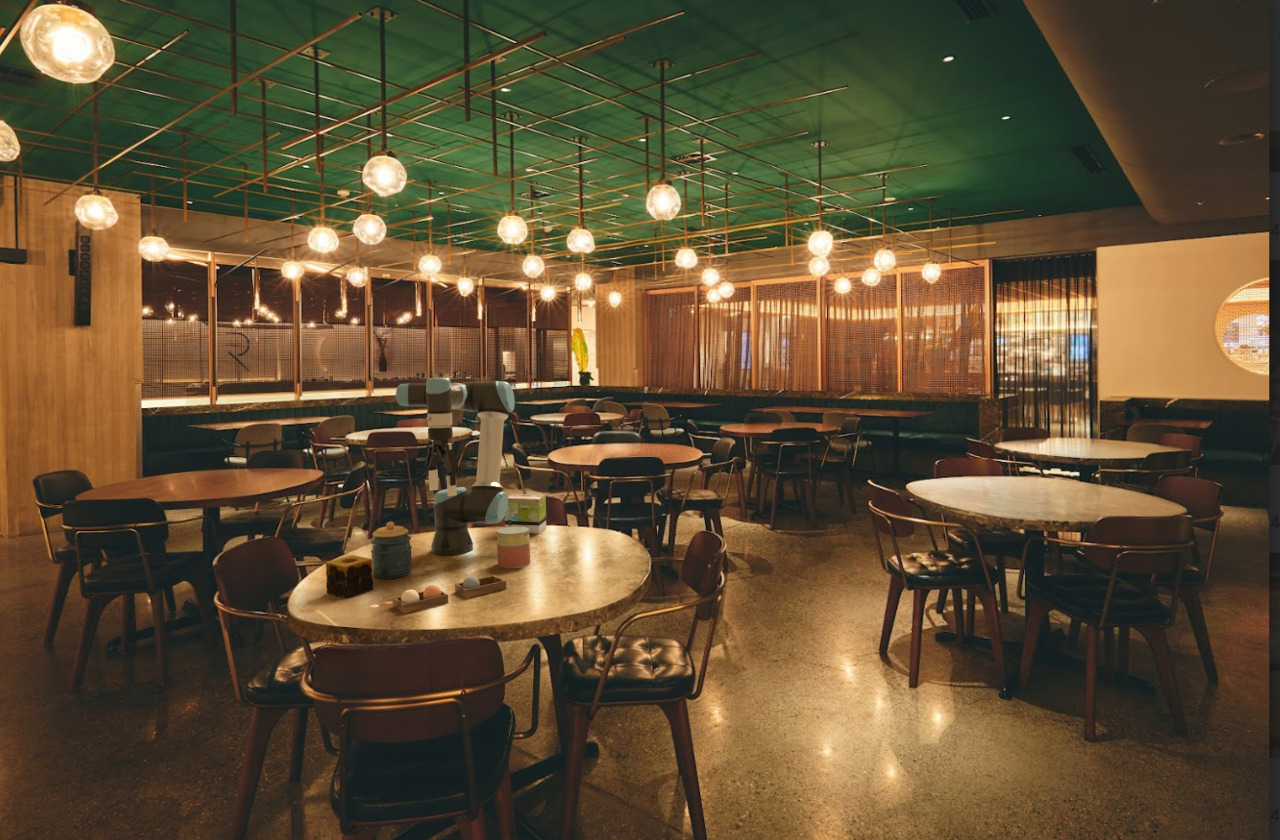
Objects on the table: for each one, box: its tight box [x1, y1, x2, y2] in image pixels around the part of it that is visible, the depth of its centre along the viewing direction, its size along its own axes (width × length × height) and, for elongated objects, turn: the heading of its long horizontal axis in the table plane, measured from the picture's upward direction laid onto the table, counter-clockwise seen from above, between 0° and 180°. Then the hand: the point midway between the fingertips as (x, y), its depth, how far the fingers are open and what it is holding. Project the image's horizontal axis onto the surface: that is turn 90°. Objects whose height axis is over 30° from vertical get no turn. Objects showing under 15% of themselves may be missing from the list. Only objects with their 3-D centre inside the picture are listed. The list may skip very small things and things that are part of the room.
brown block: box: [325, 554, 375, 600], centre depth 220 cm, size 10×10×10 cm
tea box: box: [504, 493, 547, 535], centre depth 296 cm, size 15×10×15 cm
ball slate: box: [462, 575, 480, 589], centre depth 216 cm, size 5×5×5 cm
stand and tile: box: [367, 601, 393, 609], centre depth 214 cm, size 14×24×1 cm, turn 130°
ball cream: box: [400, 589, 419, 604], centre depth 204 cm, size 5×5×5 cm
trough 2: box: [454, 574, 507, 599], centre depth 218 cm, size 8×13×3 cm, turn 130°
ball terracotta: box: [422, 584, 442, 599], centre depth 208 cm, size 5×5×5 cm
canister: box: [369, 521, 413, 580], centre depth 239 cm, size 13×13×18 cm
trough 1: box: [392, 590, 449, 614], centre depth 206 cm, size 8×13×3 cm, turn 130°
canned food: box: [496, 526, 531, 569], centre depth 248 cm, size 11×11×12 cm
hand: (442, 492), depth 228 cm, fingers open, 13 cm apart
